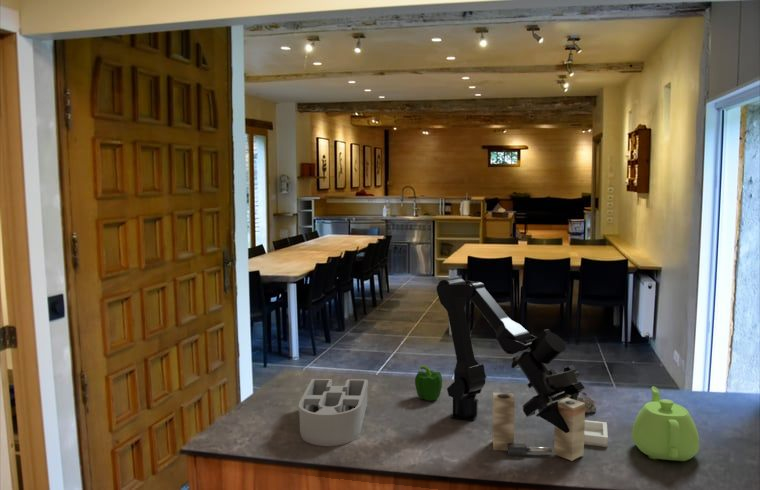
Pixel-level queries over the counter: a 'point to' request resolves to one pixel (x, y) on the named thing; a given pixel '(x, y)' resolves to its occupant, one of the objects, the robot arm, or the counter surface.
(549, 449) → the pin gauge
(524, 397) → the counter surface
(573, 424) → the block
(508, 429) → the block
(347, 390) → the grey compartment organizer
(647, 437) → the teapot
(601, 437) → the tray
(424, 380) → the bell pepper
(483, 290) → the robot arm
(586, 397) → the mineral specimen
